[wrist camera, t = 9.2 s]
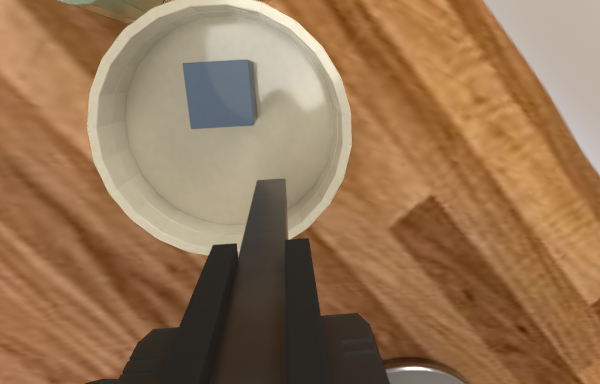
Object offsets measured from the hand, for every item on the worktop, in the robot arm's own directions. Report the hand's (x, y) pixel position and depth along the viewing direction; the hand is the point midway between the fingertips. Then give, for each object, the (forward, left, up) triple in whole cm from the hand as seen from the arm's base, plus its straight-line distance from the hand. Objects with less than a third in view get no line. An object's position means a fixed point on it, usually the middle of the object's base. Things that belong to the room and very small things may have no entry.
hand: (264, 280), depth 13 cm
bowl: (+3, +3, -19) cm, 19 cm away
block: (+5, +3, -18) cm, 19 cm away
